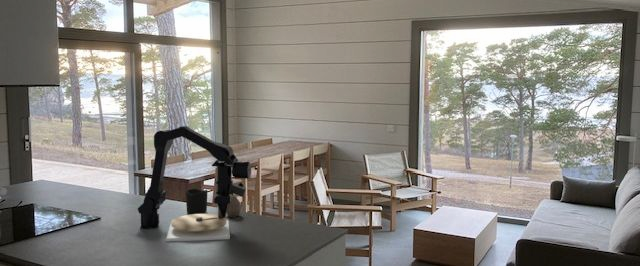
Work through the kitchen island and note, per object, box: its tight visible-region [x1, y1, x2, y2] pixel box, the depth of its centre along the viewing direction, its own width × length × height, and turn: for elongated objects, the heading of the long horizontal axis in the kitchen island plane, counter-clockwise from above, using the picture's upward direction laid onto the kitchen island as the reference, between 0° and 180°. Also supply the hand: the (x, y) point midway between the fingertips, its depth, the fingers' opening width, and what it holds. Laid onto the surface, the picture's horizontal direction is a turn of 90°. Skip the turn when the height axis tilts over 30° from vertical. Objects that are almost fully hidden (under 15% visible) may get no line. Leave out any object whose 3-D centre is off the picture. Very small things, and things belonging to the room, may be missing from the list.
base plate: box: [165, 219, 231, 243], centre depth 205 cm, size 23×23×1 cm
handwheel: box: [171, 206, 227, 231], centre depth 205 cm, size 22×21×8 cm
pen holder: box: [185, 188, 208, 215], centre depth 234 cm, size 9×9×10 cm
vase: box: [226, 195, 242, 218], centre depth 229 cm, size 7×7×9 cm
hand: (223, 216), depth 207 cm, fingers closed
